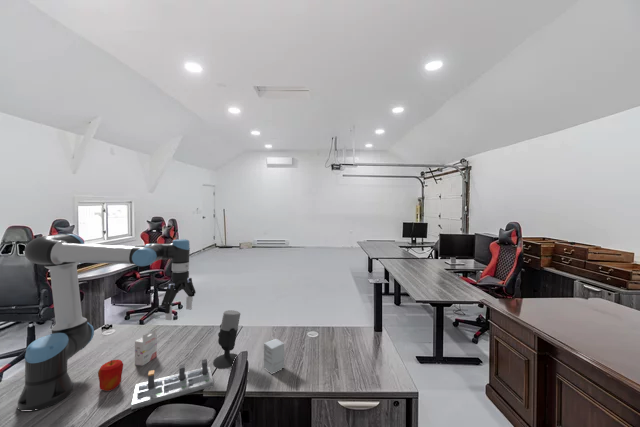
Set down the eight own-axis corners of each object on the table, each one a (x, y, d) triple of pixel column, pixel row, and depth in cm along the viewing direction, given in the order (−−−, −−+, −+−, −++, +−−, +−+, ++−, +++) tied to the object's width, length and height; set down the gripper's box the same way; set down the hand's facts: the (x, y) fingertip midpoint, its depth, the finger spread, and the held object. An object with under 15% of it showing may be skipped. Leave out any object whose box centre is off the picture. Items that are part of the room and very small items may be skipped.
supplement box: (275, 362, 131) (276, 337, 131) (284, 369, 126) (284, 343, 126) (262, 368, 126) (263, 342, 126) (271, 375, 120) (272, 348, 120)
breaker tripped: (146, 392, 105) (146, 375, 105) (147, 388, 107) (147, 371, 107) (155, 390, 106) (155, 373, 106) (155, 385, 109) (155, 369, 109)
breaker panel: (131, 409, 98) (131, 400, 98) (135, 389, 109) (136, 380, 109) (213, 386, 112) (213, 377, 112) (209, 370, 124) (209, 362, 124)
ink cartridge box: (148, 355, 135) (149, 327, 135) (156, 356, 134) (157, 328, 134) (133, 364, 126) (134, 334, 126) (142, 366, 125) (143, 336, 125)
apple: (106, 381, 114) (106, 355, 114) (127, 380, 115) (128, 353, 115) (92, 395, 105) (93, 366, 105) (115, 393, 106) (116, 365, 106)
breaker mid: (177, 384, 110) (178, 369, 110) (177, 380, 113) (178, 365, 113) (185, 382, 111) (186, 367, 111) (185, 378, 114) (185, 363, 114)
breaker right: (200, 377, 114) (201, 363, 114) (200, 374, 117) (200, 360, 117) (208, 376, 116) (208, 361, 116) (207, 372, 118) (207, 358, 118)
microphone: (245, 361, 132) (246, 312, 132) (220, 372, 122) (221, 319, 122) (232, 351, 140) (233, 305, 140) (208, 361, 131) (209, 312, 131)
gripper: (167, 277, 114) (165, 325, 114) (203, 266, 138) (202, 306, 138) (152, 276, 115) (151, 323, 115) (191, 265, 140) (190, 304, 139)
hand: (179, 314), depth 127 cm, fingers open, 13 cm apart
